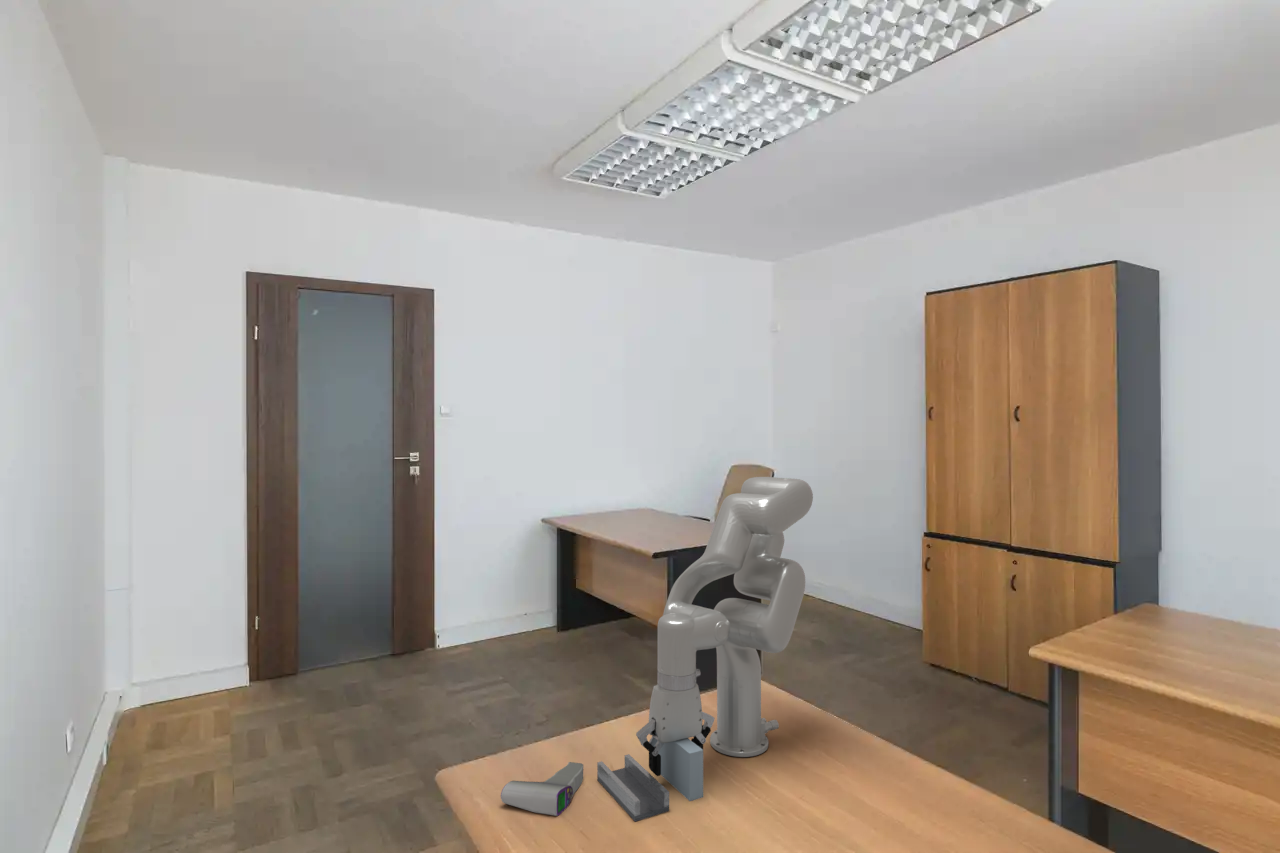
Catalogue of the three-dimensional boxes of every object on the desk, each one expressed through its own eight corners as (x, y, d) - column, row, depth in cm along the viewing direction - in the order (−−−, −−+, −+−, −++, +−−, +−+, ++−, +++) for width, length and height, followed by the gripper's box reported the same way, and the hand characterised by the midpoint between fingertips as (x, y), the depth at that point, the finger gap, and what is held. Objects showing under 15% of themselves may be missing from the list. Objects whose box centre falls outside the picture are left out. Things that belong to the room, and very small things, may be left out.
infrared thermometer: (588, 783, 136) (561, 820, 122) (531, 775, 139) (498, 810, 125) (588, 759, 137) (561, 793, 122) (532, 752, 140) (499, 784, 125)
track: (597, 780, 135) (597, 762, 135) (629, 771, 138) (628, 754, 138) (635, 821, 121) (634, 802, 121) (669, 811, 124) (669, 791, 124)
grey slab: (653, 768, 140) (653, 724, 140) (665, 764, 141) (665, 721, 141) (689, 801, 127) (689, 753, 127) (703, 797, 129) (703, 749, 129)
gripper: (703, 666, 141) (703, 749, 141) (628, 680, 133) (628, 769, 133) (724, 678, 135) (723, 765, 135) (646, 693, 127) (646, 787, 127)
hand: (676, 767), depth 134 cm, fingers open, 9 cm apart
